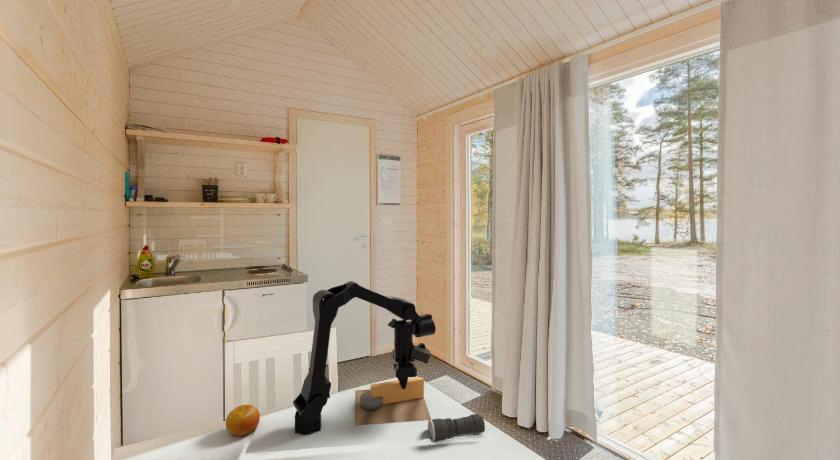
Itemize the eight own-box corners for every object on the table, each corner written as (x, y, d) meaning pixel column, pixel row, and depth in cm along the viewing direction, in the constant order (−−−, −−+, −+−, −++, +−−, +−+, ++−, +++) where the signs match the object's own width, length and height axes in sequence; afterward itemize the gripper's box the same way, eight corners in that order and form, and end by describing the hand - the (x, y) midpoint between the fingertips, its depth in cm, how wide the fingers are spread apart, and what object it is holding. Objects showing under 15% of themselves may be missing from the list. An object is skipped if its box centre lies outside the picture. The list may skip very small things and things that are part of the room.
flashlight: (478, 427, 116) (478, 409, 116) (486, 437, 111) (486, 418, 111) (427, 434, 112) (427, 416, 112) (433, 446, 107) (433, 426, 107)
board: (354, 430, 114) (354, 425, 114) (355, 394, 136) (355, 389, 136) (431, 424, 117) (431, 419, 117) (420, 390, 139) (420, 385, 139)
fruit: (216, 419, 113) (232, 397, 112) (243, 418, 120) (258, 397, 119) (225, 445, 108) (242, 421, 107) (253, 442, 114) (269, 419, 114)
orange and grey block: (362, 411, 121) (362, 392, 121) (358, 401, 128) (358, 382, 127) (426, 401, 128) (426, 382, 128) (419, 391, 134) (419, 373, 134)
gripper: (433, 348, 118) (434, 400, 118) (424, 330, 136) (424, 375, 137) (395, 349, 116) (396, 403, 117) (391, 331, 135) (392, 377, 135)
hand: (403, 388), depth 127 cm, fingers closed
